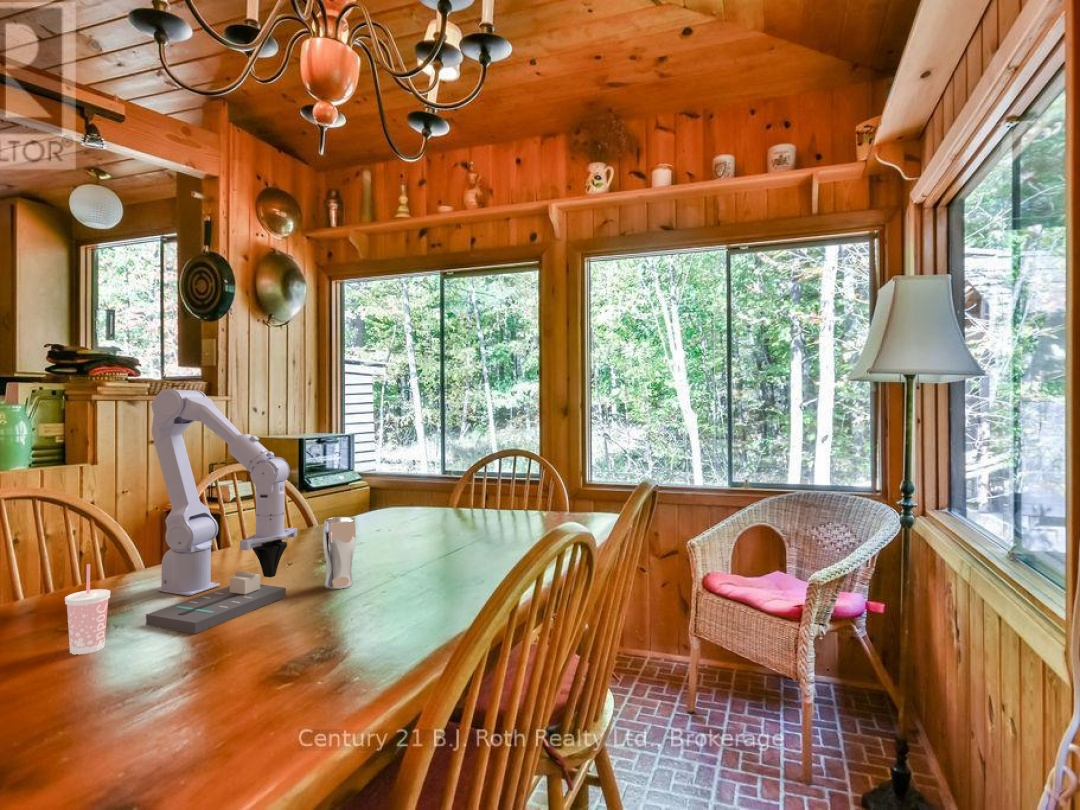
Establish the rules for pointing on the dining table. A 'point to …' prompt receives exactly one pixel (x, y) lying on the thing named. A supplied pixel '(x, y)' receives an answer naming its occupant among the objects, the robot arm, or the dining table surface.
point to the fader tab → (244, 583)
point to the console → (212, 609)
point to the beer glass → (339, 551)
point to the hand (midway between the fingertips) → (269, 576)
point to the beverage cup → (87, 618)
